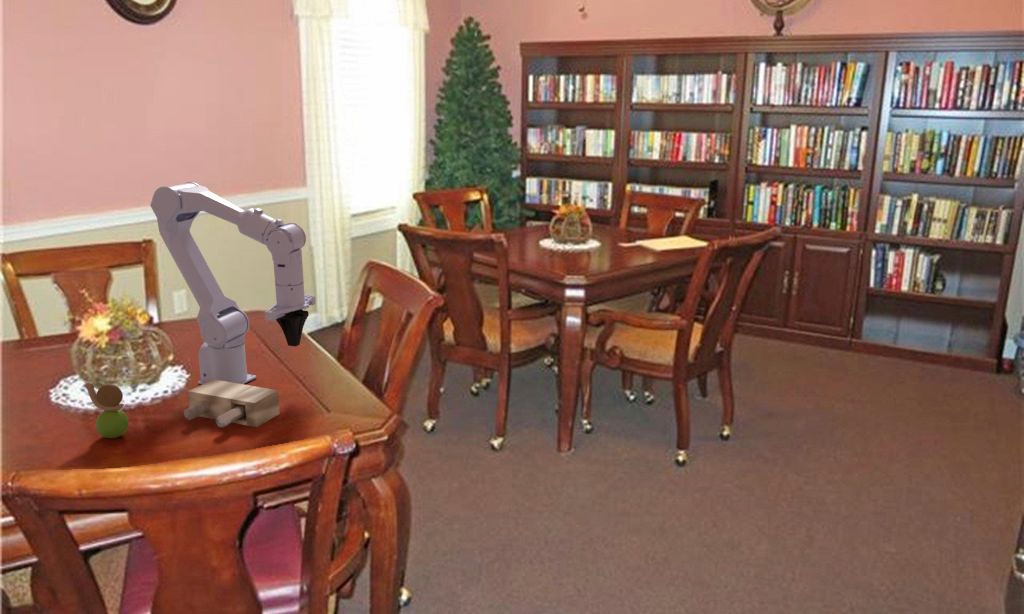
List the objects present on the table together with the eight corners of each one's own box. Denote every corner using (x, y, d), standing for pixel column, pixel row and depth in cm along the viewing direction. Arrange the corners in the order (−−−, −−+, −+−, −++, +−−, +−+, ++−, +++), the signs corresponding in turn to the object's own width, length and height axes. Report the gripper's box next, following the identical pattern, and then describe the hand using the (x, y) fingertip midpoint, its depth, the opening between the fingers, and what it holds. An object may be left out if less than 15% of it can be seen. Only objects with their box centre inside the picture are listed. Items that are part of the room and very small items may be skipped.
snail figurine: (99, 431, 146) (90, 371, 143) (135, 430, 147) (127, 370, 143) (86, 443, 141) (77, 381, 138) (123, 442, 141) (115, 381, 138)
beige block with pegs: (173, 423, 150) (170, 399, 148) (218, 400, 161) (216, 377, 160) (240, 436, 144) (238, 411, 143) (282, 411, 155) (281, 388, 154)
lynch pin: (212, 430, 146) (210, 410, 145) (258, 405, 157) (256, 386, 156) (230, 433, 144) (228, 413, 143) (274, 408, 156) (272, 389, 155)
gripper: (283, 292, 153) (288, 357, 157) (325, 277, 166) (329, 337, 170) (254, 289, 156) (259, 353, 159) (298, 274, 169) (302, 333, 172)
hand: (293, 345), depth 165 cm, fingers closed
